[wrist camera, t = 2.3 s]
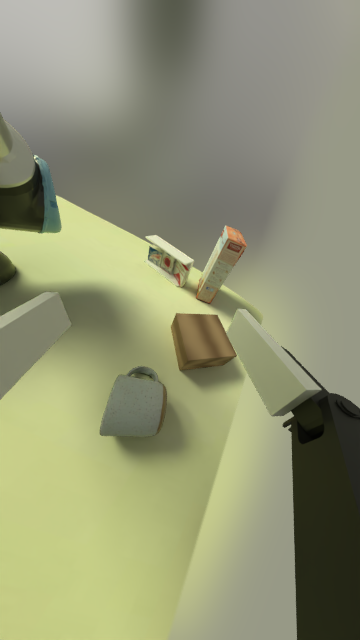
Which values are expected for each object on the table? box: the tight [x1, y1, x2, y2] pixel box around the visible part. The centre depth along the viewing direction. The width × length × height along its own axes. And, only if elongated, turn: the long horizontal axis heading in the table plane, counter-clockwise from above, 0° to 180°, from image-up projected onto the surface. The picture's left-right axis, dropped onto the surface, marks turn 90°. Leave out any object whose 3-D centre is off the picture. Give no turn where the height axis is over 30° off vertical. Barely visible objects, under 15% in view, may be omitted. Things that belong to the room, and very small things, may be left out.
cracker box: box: [196, 226, 247, 304], centre depth 45 cm, size 14×6×21 cm, turn 168°
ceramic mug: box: [100, 366, 167, 437], centre depth 22 cm, size 11×8×8 cm
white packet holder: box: [143, 235, 194, 287], centre depth 50 cm, size 20×6×9 cm, turn 51°
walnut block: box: [171, 313, 237, 370], centre depth 33 cm, size 12×12×6 cm
